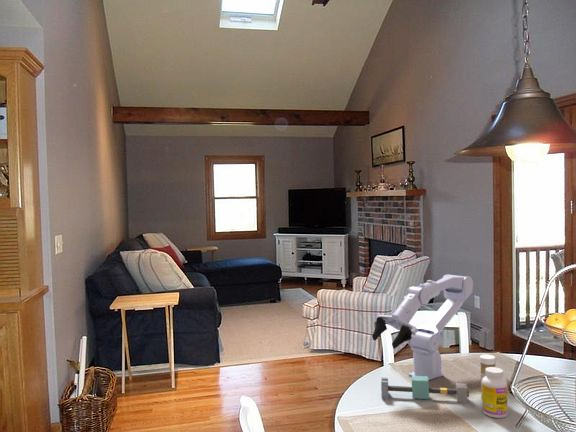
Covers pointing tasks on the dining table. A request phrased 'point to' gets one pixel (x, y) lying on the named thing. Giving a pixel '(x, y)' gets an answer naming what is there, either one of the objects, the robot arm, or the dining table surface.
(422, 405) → the dining table surface
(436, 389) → the shaft
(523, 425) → the dining table surface
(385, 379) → the grey notched jaw block
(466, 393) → the grey cube
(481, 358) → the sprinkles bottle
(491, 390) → the supplement bottle
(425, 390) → the sleeve
